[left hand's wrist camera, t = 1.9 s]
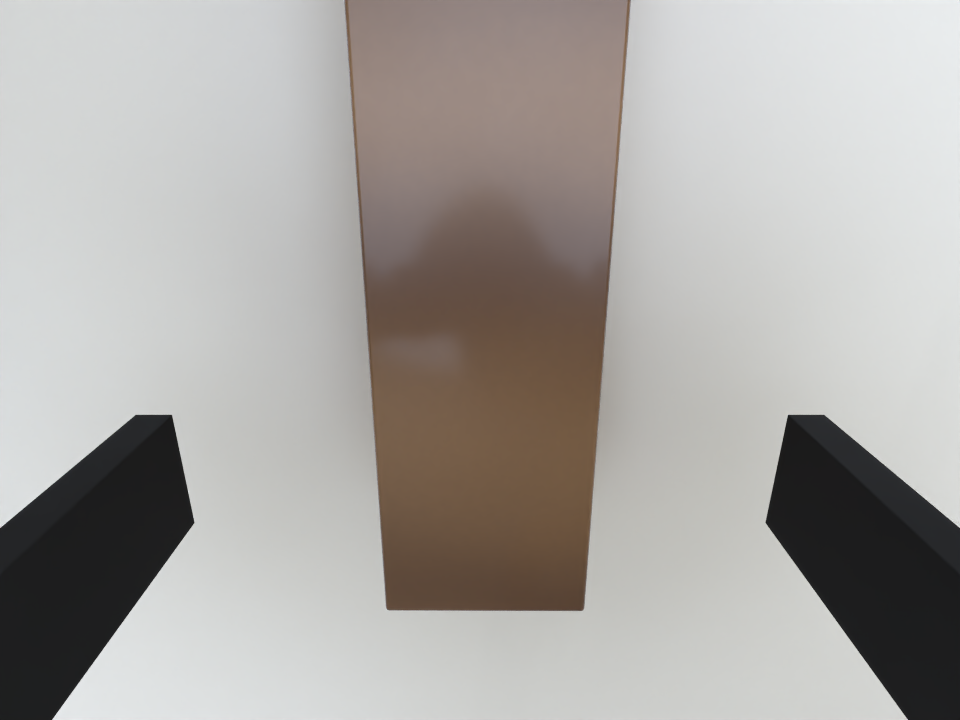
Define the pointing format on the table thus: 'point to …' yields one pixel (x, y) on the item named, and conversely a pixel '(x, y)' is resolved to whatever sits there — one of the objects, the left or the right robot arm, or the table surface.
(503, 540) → the beam
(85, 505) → the left robot arm
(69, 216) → the table surface
